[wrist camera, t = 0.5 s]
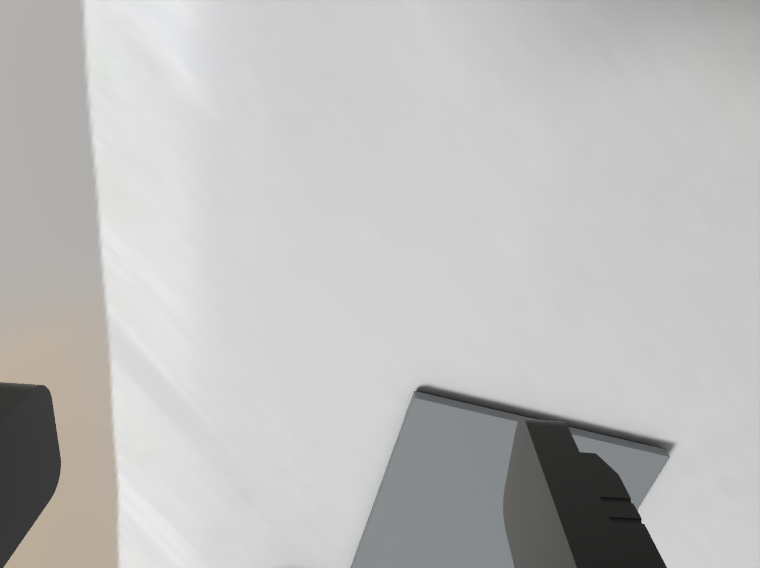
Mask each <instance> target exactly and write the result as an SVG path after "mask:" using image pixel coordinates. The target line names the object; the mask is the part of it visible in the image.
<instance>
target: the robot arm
mask: <svg viewBox="0 0 760 568" xmlns="http://www.w3.org/2000/svg"><path fill="white" fill-rule="evenodd" d="M60 459H61V458H60V451H59V444H58V439H57V432H56V424H55V417H54V411H53V404H52V397H51V394H50V391H49V390H48V389H47V387H46V386H44V385H31V384H17V383H1V382H0V568H3V567H4V566H5V564H6V563H7V561H8V560H9V558H10V557H11V555H12V554H13V553H14V551H15V550H16V548H17V547H18V545H19V544H20V542H21V541H22V540H23V538H24V537H25V535H26V534H27V532H28V531H29V530H30V528H31V527H32V525H33V524H34V522H35V521H36V519H37V518H38V516H39V515H40V514H41V512H42V511H43V509H44V508H45V506H46V505H47V504H48V502H49V501H50V499H51V498H52V496H53V494H54V492H55V489H56V487H57V484H58V480H59V476H60V469H61V460H60ZM503 516H504V525H505V530H506V534H507V538H508V543H509V547H510V551H511V555H512V559H513V564H514V568H667V567H666V565H665V563H664V561H663V559H662V558H661V556H660V554H659V552H658V550H657V548H656V546H655V544H654V542H653V540H652V538H651V536H650V534H649V532H648V530H647V528H646V527H645V525H644V524H642V523H641V517H640V515H639V513H638V511H637V509H636V507H635V505H634V503H631V498H630V496H629V494H628V492H627V490H626V488H625V486H624V484H623V482H622V480H621V478H620V476H619V474H618V473H616V472H615V471H614V470H613V469H612V468H611V467H610V466H609V465H608V464H607V463H606V462H605V461H604V460H603V459H601V458H600V457H599V456H598V455H597V454H596V453H585V452H579V449H578V447H577V445H576V443H575V441H574V438H573V436H572V434H571V432H570V430H569V427H568V426H567V424H566V423H565V422H564V421H552V420H537V419H520V420H519V421H518V424H517V427H516V431H515V436H514V441H513V446H512V452H511V457H510V462H509V467H508V473H507V478H506V483H505V488H504V497H503Z"/></svg>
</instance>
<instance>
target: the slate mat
mask: <svg viewBox="0 0 760 568" xmlns="http://www.w3.org/2000/svg"><path fill="white" fill-rule="evenodd" d="M520 419H533V418H529V417H524V416H520V415H516V414H512V413H507V412H503V411H499V410H494V409H490V408H486V407H481V406H477V405H473V404H469V403H464V402H460V401H456V400H451V399H447V398H443V397H439V396H434V395H430V394H426V393H421V392H417V391H414V394H413V396H412V399H411V402H410V405H409V408H408V410H407V413H406V416H405V419H404V421H403V424H402V427H401V430H400V432H399V435H398V438H397V441H396V444H395V446H394V449H393V452H392V455H391V457H390V460H389V463H388V466H387V469H386V471H385V474H384V477H383V480H382V482H381V485H380V488H379V491H378V493H377V496H376V499H375V502H374V505H373V507H372V510H371V513H370V516H369V518H368V521H367V524H366V527H365V529H364V532H363V535H362V538H361V541H360V543H359V546H358V549H357V552H356V554H355V557H354V560H353V563H352V566H351V568H514V564H513V559H512V555H511V551H510V547H509V543H508V538H507V534H506V530H505V525H504V516H503V497H504V488H505V483H506V478H507V473H508V467H509V462H510V457H511V452H512V446H513V441H514V436H515V431H516V427H517V424H518V421H519V420H520ZM569 430H570V432H571V434H572V436H573V438H574V441H575V443H576V445H577V447H578V449H579V452H585V453H596V454H597V455H598V456H599V457H600V458H601V459H603V460H604V461H605V462H606V463H607V464H608V465H609V466H610V467H611V468H612V469H613V470H614V471H615V472H616V473H618V474H619V476H620V478H621V480H622V482H623V484H624V486H625V488H626V490H627V492H628V494H629V496H630V498H631V503H634V505H635V507H636V509H638V508H639V506H640V505H641V503H642V501H643V500H644V498H645V496H646V495H647V493H648V492H649V490H650V488H651V487H652V485H653V484H654V482H655V480H656V479H657V477H658V475H659V474H660V472H661V471H662V469H663V467H664V466H665V464H666V462H667V461H668V459H669V458H670V456H669V455H668V453H667V451H666V449H662V448H658V447H653V446H649V445H645V444H640V443H636V442H632V441H628V440H623V439H619V438H615V437H610V436H606V435H602V434H598V433H593V432H589V431H585V430H580V429H576V428H572V427H569Z"/></svg>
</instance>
